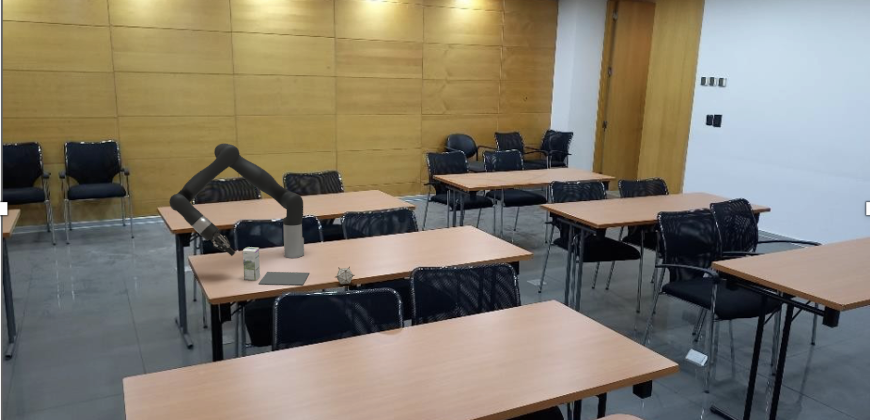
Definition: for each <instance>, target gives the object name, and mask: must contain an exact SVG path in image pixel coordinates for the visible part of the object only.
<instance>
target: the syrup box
mask: <svg viewBox="0 0 870 420" xmlns="http://www.w3.org/2000/svg"><path fill="white" fill-rule="evenodd" d="M242 258H243V259H242V262H243V279H244V281H258V279H259V278H260V277H261V270H260V269H261V268H260V247H252V246H251V247H250V246H247V247H245V248H243V250H242Z"/></svg>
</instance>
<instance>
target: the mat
mask: <svg viewBox="0 0 870 420" xmlns="http://www.w3.org/2000/svg"><path fill="white" fill-rule="evenodd" d="M309 275H310V272H298V271H297V272H295V271H293V272H291V271H266V273H265V274H264V275H263V277H262V278H261V280H260V281H259V282H258V285H263V286H265V285H266V286H300V287H301V286H302V287H303V286H304V284H305V282H306V281H307V279H308V277H309Z"/></svg>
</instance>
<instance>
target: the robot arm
mask: <svg viewBox="0 0 870 420" xmlns="http://www.w3.org/2000/svg"><path fill="white" fill-rule="evenodd" d="M213 152H214V153H213V154H214V157H215V159H214V160H213V161H212V162H211V163H210V164H209V165H207V166H206V167H204V168H203V169H201V170H199V171H198V172H197V173H195V174H194V175H193V176H192V177H191V178H190V179H189V180H188V181H186V183H185V184H183V187H182V188H181V189H180V190H179V191H178V192H177V193H176V194H175V193H174V194H173V195H171V196H170V197H169V201H168V202H169V206H170V208H171V210H173V211H175V212H177V213H178V214H180V216H182V217H183V219H184V220H185V221H186V222H187V224H189V225H190V226H191V227H192V228H193V229H194V231H196V232H197V233H198V234H199V235H200V236H201V237H202V238H203V239H204V240H205V241H209V240H210V241H211V243H213V244H212V247H213V248H214V249H217V250H219V251H222V252H227V254H228V255H229V256H231V257H233V256H234V255H235V254H236V250H234V249H233V248H232V247H231V242H230V241H229V239H228V237H227V235H225V234H224V235H222V234H221V233H220V232H218V231H219V229H220V228H218V227H217V226H216V225H215V224H214V223H213V222H212V221H211V220H210V219H209V218H208V217H206V216H205V215H204V214H203V213H202V212H200V210H198V209H197V208H196V207H195V206H194V205H193V204H192V203H191V202H192V200H193V199H194V198H195V197H196V196H198V194H200V193H201V192H202V191H203V190H204V189H205V188H206V187H207V186H208V185H209V184H210V183H211V182H212V181H213V180H214V179H215V178H216V177H218V176H220V174H221V173H223V172H224V171H225V170H227V169H228V168H231V169H233V170H234V171H235V172H236V173H238V175H240V176H241V177H242V178H243V179H244V180H246V181H247V182H248V183H249V184H250V185H252V186H253V187H255V188H256V189H258V190H260V192H262V193H264V194H266V195H268V196H269V197H271V198H272V199H273V200H274V201H275V202H277V203H278V204H279V205H280V207H283V209H285V210H286V216H285V217H284V218H283V244H284V246H283V250H284V251H283V252H284V253H283V254H284V255H283V256H284V257H285V258H288V259H296V258H301V257H303V256H305V244H304V243H305V237H303V226H302V225H303V218H304V200H303V197H302V196H301V195H300V194H297V193H295V192H292V191H291V190H288V189H286V188H285V187H284V186H282V185H280V184H279V183H278V182H277V180H276V179H275V178H274V176H272V174H270V173H269V172H268V171H266V170H265V169H264V168H262V167H261V166H259V165H257V164H256V163H254V162H252V161H249V160H247V159H246V158H245V157H243V156H242V155H241V153H240V150H239V148H238V147H237V146H235V145H233V144H231V143H230V144H229V143H219V144H217V145H216V146H215V148H214V150H213Z"/></svg>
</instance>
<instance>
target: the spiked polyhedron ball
mask: <svg viewBox="0 0 870 420" xmlns="http://www.w3.org/2000/svg"><path fill="white" fill-rule="evenodd" d="M350 267H351V266H349V267H345V268H340V267H338V271H337V274H336V276H334V278H335V279H337V281H338V283H339V287H340V286H341V285H348V284H349V285H351V286H352V283H351V282H352V280H353V277H354V276H355V275H356V274H353V273H352V271H351V269H350Z"/></svg>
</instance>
